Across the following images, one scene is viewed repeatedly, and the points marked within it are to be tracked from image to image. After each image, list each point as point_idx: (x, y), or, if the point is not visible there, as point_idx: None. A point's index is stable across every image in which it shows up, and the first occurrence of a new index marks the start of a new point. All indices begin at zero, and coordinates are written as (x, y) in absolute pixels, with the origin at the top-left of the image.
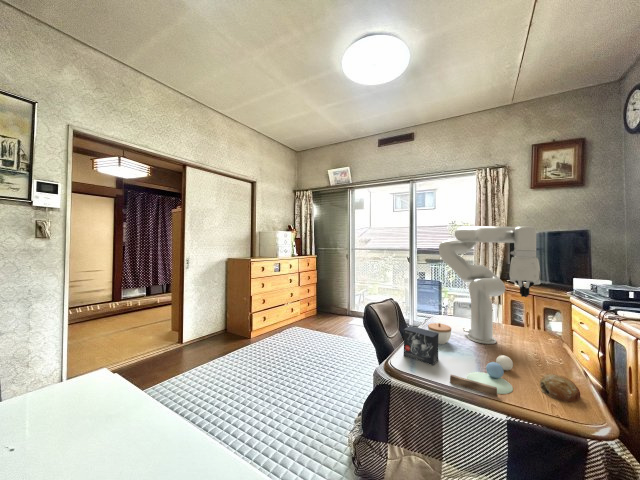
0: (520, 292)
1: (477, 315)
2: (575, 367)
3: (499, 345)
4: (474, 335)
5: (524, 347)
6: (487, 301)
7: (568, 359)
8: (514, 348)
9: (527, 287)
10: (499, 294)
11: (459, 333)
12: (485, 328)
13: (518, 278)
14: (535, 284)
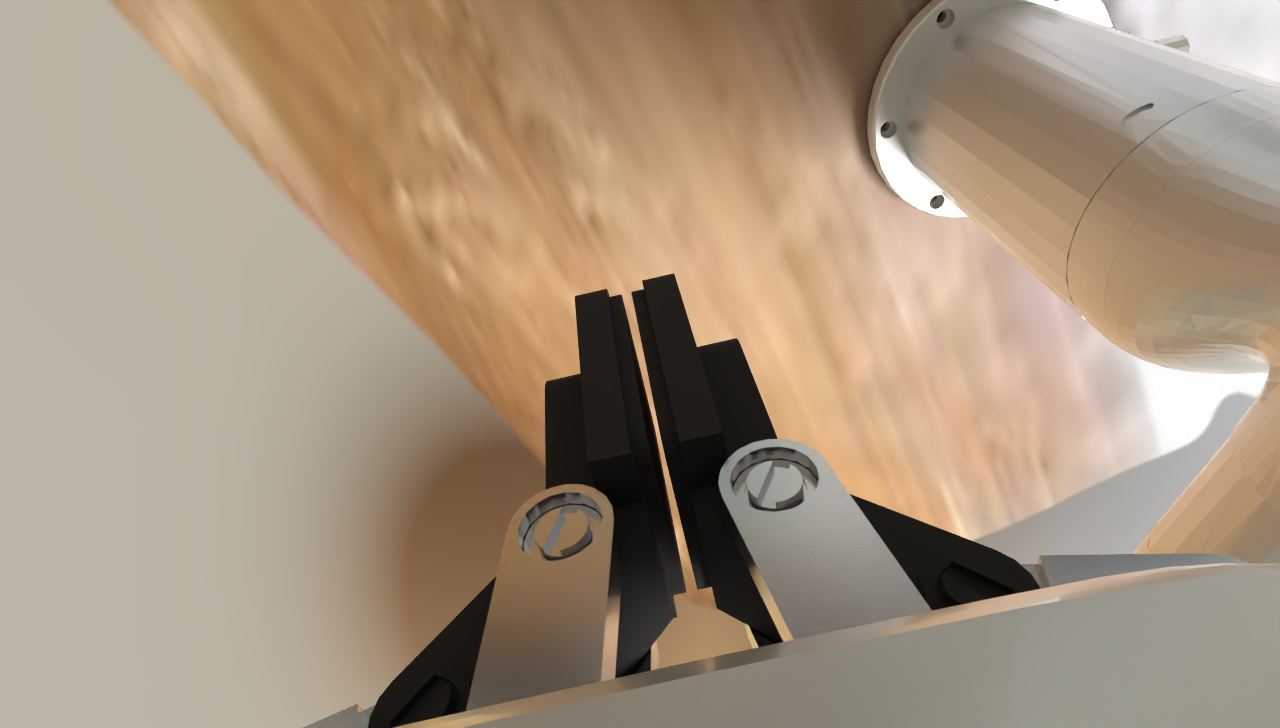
0: (731, 358)
1: (1189, 71)
2: (320, 218)
3: (824, 112)
4: (1053, 11)
5: (690, 262)
6: (1233, 240)
7: (430, 319)
8: (722, 167)
9: (555, 513)
10: (1145, 545)
11: (1189, 48)
12: (1002, 79)
13: (956, 699)
14: (325, 724)
